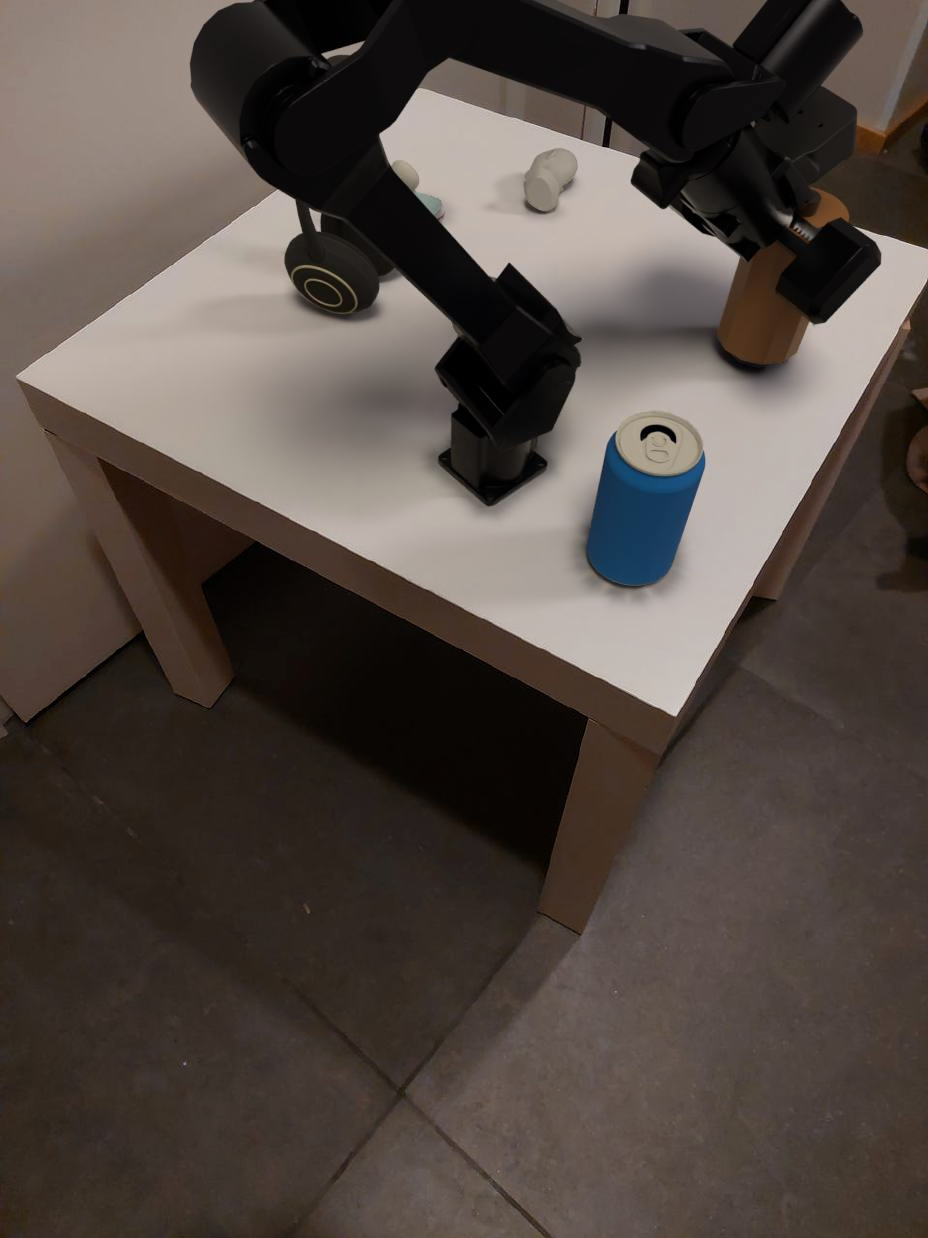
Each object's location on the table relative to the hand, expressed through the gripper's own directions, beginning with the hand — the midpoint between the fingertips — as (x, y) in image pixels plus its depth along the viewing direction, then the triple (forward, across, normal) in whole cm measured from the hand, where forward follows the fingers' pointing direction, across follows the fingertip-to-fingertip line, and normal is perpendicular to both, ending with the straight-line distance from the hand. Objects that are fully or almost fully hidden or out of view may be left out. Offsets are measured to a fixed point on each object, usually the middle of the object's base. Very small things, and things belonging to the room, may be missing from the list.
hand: (793, 266), depth 74 cm
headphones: (-14, +26, +26) cm, 39 cm away
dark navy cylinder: (+5, 0, +7) cm, 8 cm away
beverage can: (-11, -13, +24) cm, 29 cm away
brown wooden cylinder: (+4, 0, +6) cm, 7 cm away
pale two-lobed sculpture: (+3, +30, +9) cm, 31 cm away
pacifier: (-6, +34, +18) cm, 39 cm away
